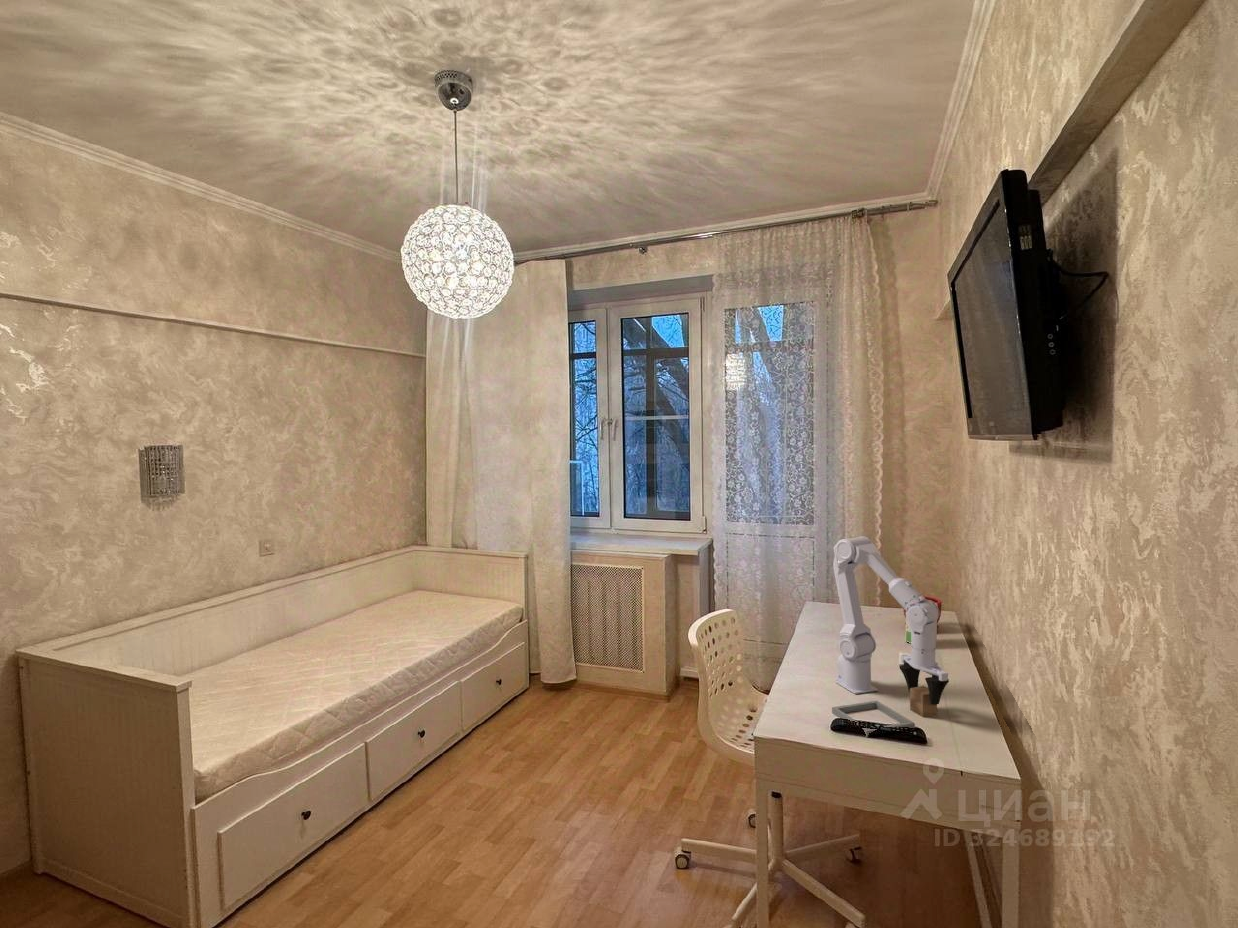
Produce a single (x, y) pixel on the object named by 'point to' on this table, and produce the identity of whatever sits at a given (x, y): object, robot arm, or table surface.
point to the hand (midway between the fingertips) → (923, 697)
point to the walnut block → (921, 702)
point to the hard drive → (900, 657)
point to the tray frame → (844, 709)
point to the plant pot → (934, 602)
